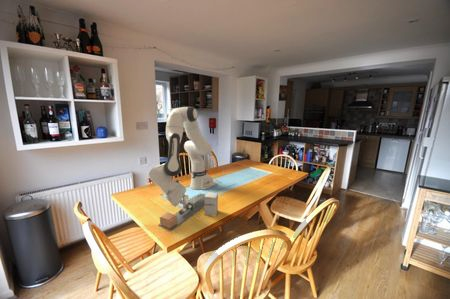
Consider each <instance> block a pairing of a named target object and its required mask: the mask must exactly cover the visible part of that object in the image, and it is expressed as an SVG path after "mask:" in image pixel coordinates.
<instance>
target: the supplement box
mask: <svg viewBox="0 0 450 299" xmlns="http://www.w3.org/2000/svg"><path fill="white" fill-rule="evenodd" d="M204 195H205V207H204V216H212V217H213V216H214V217H216V215H217V214H218V209H219V206H218V205H219V202H218V201H219V200H218V199H219V193H218V192H211V191H210V192H209V191H206V193H205V194H204Z"/></svg>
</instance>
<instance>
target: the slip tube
mask: <svg viewBox="0 0 450 299" xmlns="http://www.w3.org/2000/svg"><path fill="white" fill-rule="evenodd" d="M182 200H183V201H184V202H186V203H187V204H186V205H185V206H184V205H183V204H182V208H181V209H179V210H178V212H179V214H180V215H182V214H183V213H185V212H186V211H188V210H189V209H191V208H192V207H193V204H189V200H190V199H189V195H188V194H185V195H184V196H183V198H182Z"/></svg>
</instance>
